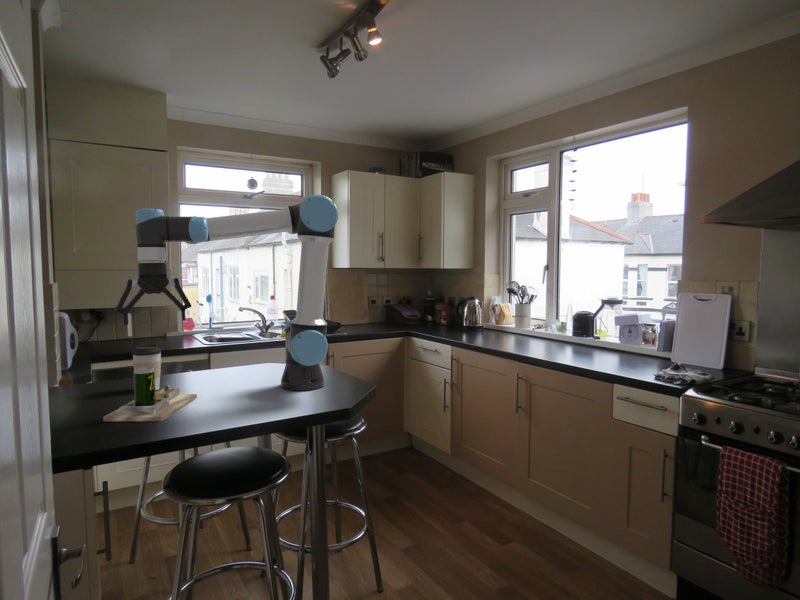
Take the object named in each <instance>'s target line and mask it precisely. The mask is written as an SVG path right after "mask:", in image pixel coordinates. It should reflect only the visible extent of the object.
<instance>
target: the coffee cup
mask: <svg viewBox="0 0 800 600" xmlns="http://www.w3.org/2000/svg"><path fill="white" fill-rule="evenodd" d="M161 353H162V348H159V347H158V345H156V344H149V345H141V346H136V347H135V348H134V350H132V353H131V355H132V359H133V361H132V365H133V372H134V371H135V370H134V369H135V368H138V367H147V366H150V367H154V370H155V391H159V390H160V380H161V373H162V371H161V367H162V359H161V358H162V354H161Z"/></svg>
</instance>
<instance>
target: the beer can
mask: <svg viewBox="0 0 800 600" xmlns="http://www.w3.org/2000/svg"><path fill="white" fill-rule="evenodd" d="M134 370H135V371H134ZM133 390H134V391H133V393H134V396H133V397H134V400H135V406H153V405H154V404H156V396H155V392H156V390H155V370H154V367H150V366H147V367H138V368H135V369H134V368H133Z"/></svg>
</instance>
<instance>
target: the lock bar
mask: <svg viewBox="0 0 800 600" xmlns="http://www.w3.org/2000/svg"><path fill="white" fill-rule="evenodd" d="M163 388H164V389H163ZM163 388H162V389H163V390H162V391H160V392H158V393H156V401H157V399H158V398H166V397H165V394H167V393H169V392H170V391H172V390H174V389H176V386H171V385H170V384H167V385H164V387H163Z"/></svg>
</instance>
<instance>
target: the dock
mask: <svg viewBox="0 0 800 600" xmlns="http://www.w3.org/2000/svg"><path fill="white" fill-rule="evenodd" d="M163 389H164V387H163V388H161V389H158V390H156V391H155V396H156V393H158V392H160V391H162V390H163ZM165 397H166V398H158V399H157V401H156V404H154V405H153V406H135V399H133V400H132V401H131V400H130V401H129V402H127V403H125V404H123V405H122V406H120V407H119V408H118V409H116V410H114V411H112V412H110V413H108V414H106V415H104V416H103V419H102V421H103V422H164V420H166V419H168V418H169V417H171V416H173V415H174V414H175V413H176V412H178V411H180V410H181V409H183V408H184V407H186V406H187V405H188V404H190V403H191V402H193V401H195V400H196V399H197V398H198V395H197V393H196V394H195V393H194V394H193V393H181V392H180V387H179V388H178V387H175V389H174V390H172V391H170V392H169V393H167V394H165Z"/></svg>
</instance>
